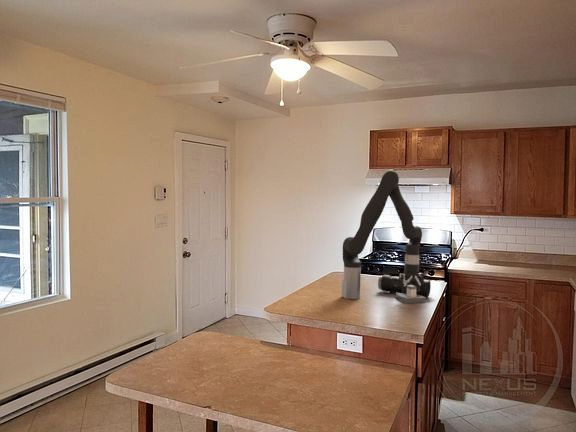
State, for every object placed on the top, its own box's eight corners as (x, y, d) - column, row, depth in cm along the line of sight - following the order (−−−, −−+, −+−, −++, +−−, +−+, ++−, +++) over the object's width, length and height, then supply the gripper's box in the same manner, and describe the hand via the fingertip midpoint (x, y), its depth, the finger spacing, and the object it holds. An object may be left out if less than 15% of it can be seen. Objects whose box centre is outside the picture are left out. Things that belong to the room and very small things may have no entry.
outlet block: (406, 303, 228) (406, 298, 228) (396, 298, 237) (396, 294, 237) (425, 302, 231) (425, 297, 231) (414, 297, 241) (415, 293, 241)
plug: (410, 301, 231) (411, 286, 231) (406, 299, 236) (406, 285, 235) (415, 301, 232) (416, 286, 232) (411, 299, 236) (412, 285, 236)
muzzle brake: (426, 299, 237) (427, 281, 236) (377, 293, 251) (377, 275, 250) (430, 296, 245) (431, 278, 245) (382, 290, 259) (382, 273, 258)
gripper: (404, 264, 227) (403, 294, 228) (427, 263, 232) (426, 293, 233) (396, 262, 235) (395, 291, 235) (419, 261, 239) (418, 290, 240)
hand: (410, 292), depth 234 cm, fingers open, 8 cm apart
